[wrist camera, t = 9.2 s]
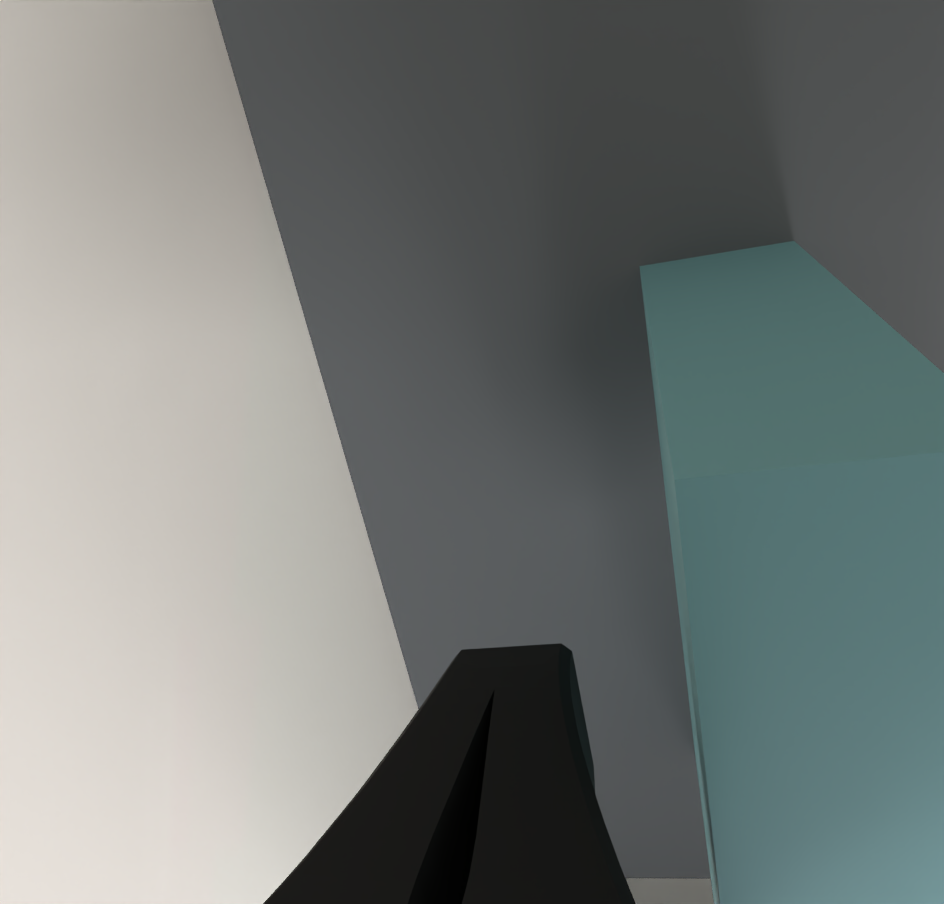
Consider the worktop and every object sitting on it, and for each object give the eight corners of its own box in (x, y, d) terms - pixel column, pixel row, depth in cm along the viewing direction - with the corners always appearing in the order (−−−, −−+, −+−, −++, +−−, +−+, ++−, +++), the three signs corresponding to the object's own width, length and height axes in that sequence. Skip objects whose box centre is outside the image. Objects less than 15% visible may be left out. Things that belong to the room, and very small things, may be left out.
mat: (1225, 851, 14) (1249, 881, 14) (471, 852, 17) (467, 876, 17) (1590, -551, 7) (1672, -603, 6) (197, -119, 10) (174, -129, 10)
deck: (815, 751, 14) (960, 1224, 8) (694, 755, 14) (752, 1205, 9) (798, 240, 10) (1035, 443, 5) (639, 266, 11) (673, 479, 5)
